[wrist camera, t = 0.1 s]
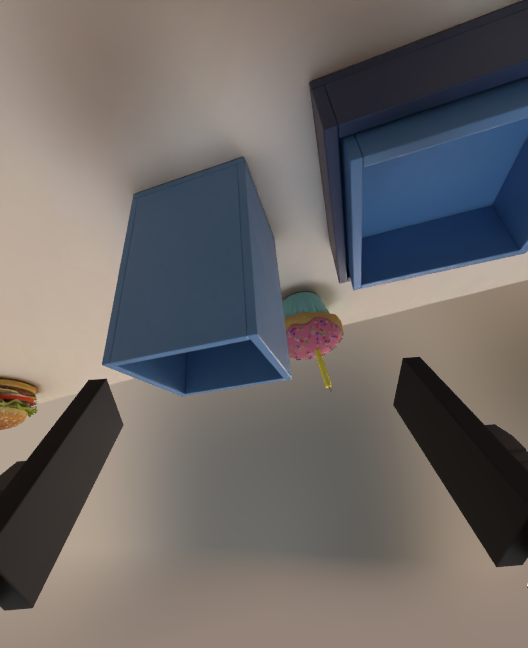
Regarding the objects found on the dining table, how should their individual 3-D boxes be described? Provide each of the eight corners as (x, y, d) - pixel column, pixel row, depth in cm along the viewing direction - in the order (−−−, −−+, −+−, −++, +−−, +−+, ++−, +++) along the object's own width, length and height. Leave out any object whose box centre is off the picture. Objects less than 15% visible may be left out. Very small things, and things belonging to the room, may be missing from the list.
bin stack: (330, 244, 27) (343, 298, 25) (308, 81, 16) (329, 149, 13) (497, 202, 24) (533, 258, 22) (625, -39, 13) (737, 16, 10)
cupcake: (301, 273, 31) (319, 383, 26) (350, 295, 36) (374, 392, 30) (254, 309, 37) (261, 404, 31) (301, 324, 42) (315, 409, 36)
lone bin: (188, 261, 28) (182, 396, 22) (133, 194, 21) (101, 365, 15) (274, 238, 26) (292, 379, 20) (243, 156, 19) (257, 334, 13)
